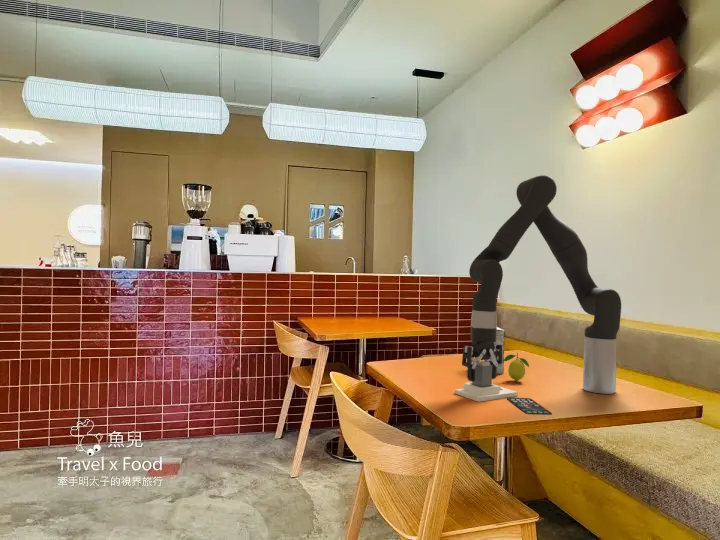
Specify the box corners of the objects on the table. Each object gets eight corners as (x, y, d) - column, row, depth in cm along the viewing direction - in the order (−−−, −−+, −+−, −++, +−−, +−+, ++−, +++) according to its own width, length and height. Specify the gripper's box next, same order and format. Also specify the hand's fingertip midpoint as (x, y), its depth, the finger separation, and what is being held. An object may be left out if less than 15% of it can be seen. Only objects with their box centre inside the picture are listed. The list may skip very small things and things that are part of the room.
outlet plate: (492, 388, 151) (493, 378, 151) (517, 396, 143) (517, 385, 143) (454, 393, 143) (455, 382, 143) (478, 401, 134) (479, 390, 134)
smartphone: (526, 413, 124) (505, 397, 139) (526, 416, 124) (505, 399, 139) (553, 414, 124) (530, 398, 139) (553, 416, 124) (530, 400, 139)
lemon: (502, 380, 163) (503, 351, 163) (511, 378, 167) (512, 350, 167) (520, 384, 158) (521, 354, 158) (529, 382, 162) (530, 353, 162)
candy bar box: (482, 367, 185) (484, 325, 185) (495, 368, 185) (497, 326, 185) (490, 373, 173) (491, 329, 174) (504, 374, 173) (505, 329, 173)
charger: (481, 389, 145) (482, 360, 145) (491, 392, 141) (492, 362, 141) (471, 390, 142) (472, 361, 143) (481, 393, 139) (482, 363, 139)
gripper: (491, 323, 149) (489, 375, 149) (457, 325, 141) (455, 379, 141) (510, 326, 142) (508, 380, 142) (475, 328, 135) (473, 384, 135)
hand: (481, 379), depth 142 cm, fingers open, 8 cm apart
